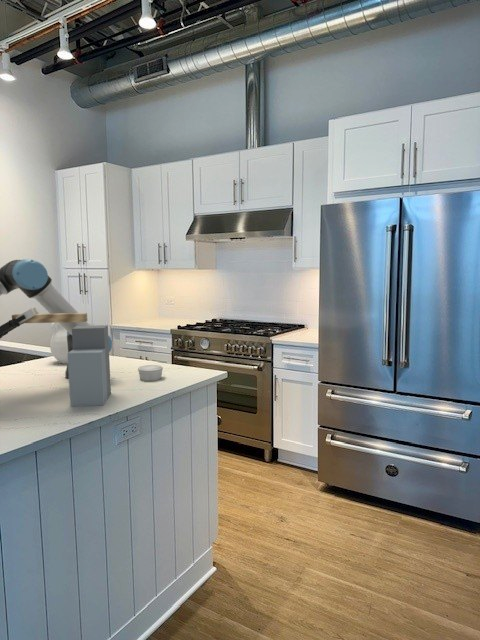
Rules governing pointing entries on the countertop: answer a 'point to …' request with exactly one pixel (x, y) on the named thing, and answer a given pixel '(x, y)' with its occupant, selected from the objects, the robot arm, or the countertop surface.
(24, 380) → the countertop surface
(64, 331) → the pitcher
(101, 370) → the stand
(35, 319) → the oak bar
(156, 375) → the ramekin
